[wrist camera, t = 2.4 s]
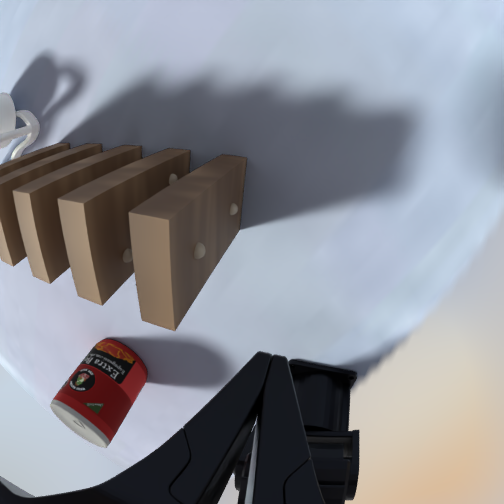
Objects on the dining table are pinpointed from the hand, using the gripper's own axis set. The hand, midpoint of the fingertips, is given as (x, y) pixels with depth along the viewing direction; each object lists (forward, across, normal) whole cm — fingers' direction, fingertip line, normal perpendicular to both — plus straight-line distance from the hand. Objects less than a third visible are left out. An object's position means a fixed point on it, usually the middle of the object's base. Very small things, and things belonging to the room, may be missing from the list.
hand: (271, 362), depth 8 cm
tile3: (+12, +12, 0) cm, 17 cm away
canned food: (+12, +18, +22) cm, 31 cm away
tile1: (+12, +5, 0) cm, 13 cm away
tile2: (+12, +9, 0) cm, 15 cm away
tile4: (+12, +16, -1) cm, 20 cm away
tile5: (+12, +20, -1) cm, 23 cm away
